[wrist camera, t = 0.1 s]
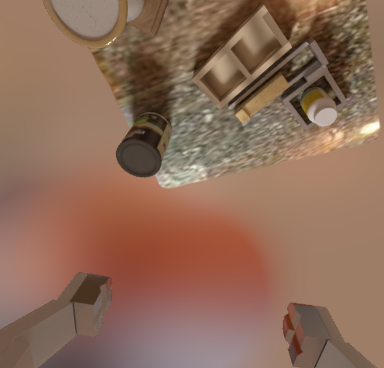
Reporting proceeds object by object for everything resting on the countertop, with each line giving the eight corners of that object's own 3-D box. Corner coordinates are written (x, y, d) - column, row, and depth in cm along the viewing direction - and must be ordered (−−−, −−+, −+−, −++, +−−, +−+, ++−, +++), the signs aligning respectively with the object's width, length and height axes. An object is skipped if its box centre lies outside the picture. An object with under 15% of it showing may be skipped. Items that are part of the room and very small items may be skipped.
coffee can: (126, 121, 64) (106, 150, 53) (158, 105, 60) (143, 132, 49) (148, 151, 69) (134, 183, 58) (179, 138, 65) (169, 169, 54)
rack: (261, 3, 45) (264, 5, 42) (288, 43, 48) (292, 47, 45) (193, 74, 54) (191, 79, 51) (220, 102, 58) (219, 109, 54)
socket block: (309, 36, 47) (314, 40, 44) (347, 98, 54) (354, 105, 51) (228, 105, 58) (228, 112, 55) (268, 150, 64) (270, 158, 61)
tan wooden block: (278, 69, 51) (282, 76, 48) (286, 79, 53) (290, 87, 49) (234, 106, 58) (235, 114, 54) (242, 115, 59) (243, 123, 55)
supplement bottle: (295, 107, 56) (306, 126, 49) (306, 84, 53) (319, 100, 45) (317, 112, 56) (331, 132, 49) (330, 89, 53) (347, 106, 45)
